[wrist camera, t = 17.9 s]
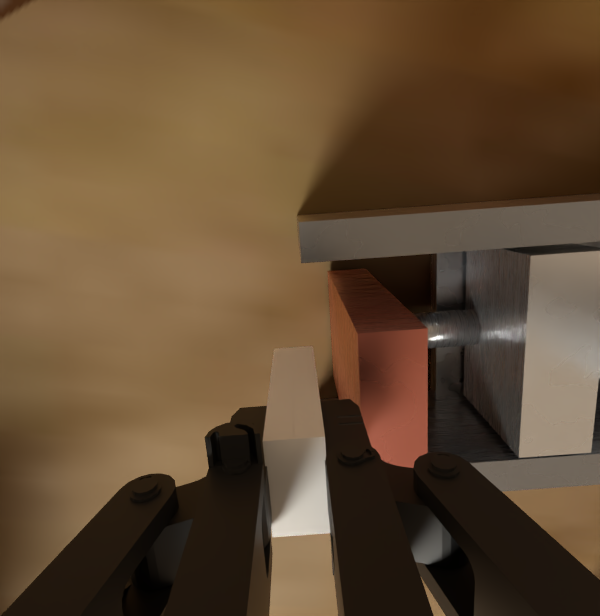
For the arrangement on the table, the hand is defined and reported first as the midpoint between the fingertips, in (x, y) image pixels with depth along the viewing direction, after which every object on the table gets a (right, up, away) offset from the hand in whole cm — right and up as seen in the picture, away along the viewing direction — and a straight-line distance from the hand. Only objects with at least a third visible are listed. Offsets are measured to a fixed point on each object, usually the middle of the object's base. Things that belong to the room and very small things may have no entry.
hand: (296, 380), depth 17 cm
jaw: (+7, +2, +7) cm, 10 cm away
